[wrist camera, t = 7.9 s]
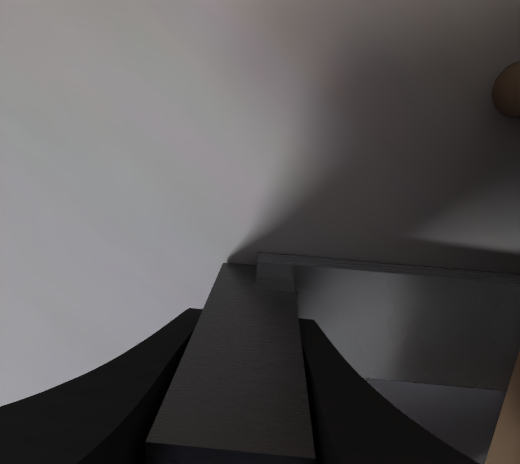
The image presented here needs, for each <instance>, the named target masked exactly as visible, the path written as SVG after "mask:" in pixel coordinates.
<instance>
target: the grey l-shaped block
mask: <svg viewBox="0 0 520 464" xmlns="http://www.w3.org/2000/svg"><path fill="white" fill-rule="evenodd" d="M298 318H302V319H313V320H315V322H316V323H317V324H318V325H319V327H320V328H321V329H322V331H323V332H324V333H325V335H326V336H327V337H328V339H329V340H330V341H331V343H332V344H333V345H334V346H335V348H336V349H337V350H338V351H339V353H340V354H341V355H342V356H343V357H344V358H345V360H346V361H347V362H348V363H349V364H350V365H351V366H352V367H353V368H354V369H355V371H356V372H357V373H358V374H359V375H360V376H361V377H362V378H370V379H381V380H392V381H402V382H413V383H424V384H435V385H445V386H456V387H467V388H477V389H488V390H499V391H507V389H508V386H509V383H510V379H511V376H512V373H513V370H514V366H515V363H516V360H517V356H518V353H519V350H520V275H515V274H503V273H492V272H480V271H468V270H456V269H445V268H433V267H421V266H410V265H398V264H386V263H375V262H363V261H351V260H340V259H328V258H316V257H304V256H293V255H281V254H269V253H259V254H258V260H257V266H255V265H243V264H232V263H223V265H222V267H221V269H220V271H219V274H218V276H217V278H216V281H215V283H214V285H213V288H212V290H211V292H210V294H209V297H208V299H207V301H206V304H205V306H204V308H203V311H202V313H201V315H200V317H199V320H198V322H197V324H196V327H195V329H194V331H193V334H192V336H191V338H190V340H189V343H188V345H187V347H186V350H185V352H184V354H183V356H182V359H181V361H180V363H179V366H178V368H177V370H176V373H175V375H174V377H173V379H172V382H171V384H170V386H169V389H168V391H167V393H166V396H165V398H164V400H163V402H162V405H161V407H160V409H159V412H158V414H157V416H156V419H155V421H154V423H153V425H152V428H151V430H150V432H149V435H148V437H147V439H146V441H145V464H315V459H316V458H315V450H314V442H313V434H312V426H311V417H310V409H309V401H308V393H307V385H306V377H305V369H304V360H303V352H302V344H301V336H300V328H299V320H298Z"/></svg>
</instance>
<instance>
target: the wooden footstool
mask: <svg viewBox="0 0 520 464" xmlns="http://www.w3.org/2000/svg"><path fill="white" fill-rule="evenodd" d="M493 100H494V104H495V106H496V107H497V109H498V110H499V111H500V112H501V113H503V114H505V115H507V116H512V117H520V62H517V63H514V64H512V65H510V66H508V67H507V68H506V69H505V70H503V71H502V73H501V74H500V75H499V76H498V78H497V80H496V82H495V84H494V88H493ZM485 464H520V350H519V353H518V356H517V360H516V363H515V366H514V370H513V373H512V376H511V379H510V383H509V386H508V389H507V393H506V396H505V399H504V402H503V406H502V409H501V412H500V416H499V419H498V422H497V425H496V429H495V432H494V435H493V439H492V442H491V445H490V448H489V452H488V455H487V458H486V462H485Z"/></svg>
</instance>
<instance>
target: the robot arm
mask: <svg viewBox="0 0 520 464" xmlns="http://www.w3.org/2000/svg"><path fill="white" fill-rule="evenodd" d="M202 311H203V309H193V308H189V309H187V310H186V311H184V312H183V313H182V314H180V315H179V316H178V317H176V318H175V319H174V320H172V321H171V322H170V323H168V324H167V325H165V326H164V327H163V328H161V329H160V330H159V331H157V332H156V333H154V334H153V335H152V336H150V337H149V338H147V339H146V340H144V341H142V342H141V343H139V344H138V345H136V346H135V347H133V348H131V349H130V350H128V351H127V352H125V353H124V354H122V355H120V356H118V357H117V358H115V359H113V360H111V361H110V362H108V363H106V364H104V365H102V366H100V367H98V368H96V369H94V370H92V371H90V372H88V373H86V374H84V375H82V376H79V377H77V378H75V379H72V380H70V381H68V382H65V383H63V384H61V385H58V386H56V387H53V388H51V389H49V390H46V391H44V392H41V393H39V394H36V395H33V396H30V397H28V398H25V399H22V400H19V401H16V402H13V403H10V404H7V405H4V406H1V407H0V464H145V441H146V439H147V437H148V435H149V432H150V430H151V428H152V425H153V423H154V421H155V419H156V416H157V414H158V412H159V409H160V407H161V405H162V402H163V400H164V398H165V396H166V393H167V391H168V389H169V386H170V384H171V382H172V379H173V377H174V375H175V373H176V370H177V368H178V366H179V363H180V361H181V359H182V356H183V354H184V352H185V350H186V347H187V345H188V343H189V340H190V338H191V336H192V334H193V331H194V329H195V327H196V324H197V322H198V320H199V317H200V315H201V313H202ZM298 320H299V328H300V336H301V344H302V352H303V360H304V369H305V377H306V385H307V393H308V401H309V409H310V417H311V426H312V434H313V442H314V450H315V458H316V459H315V464H479V463H477V462H476V461H474V460H472V459H471V458H469V457H468V456H466V455H464V454H463V453H461V452H459V451H458V450H456V449H454V448H453V447H451V446H450V445H448V444H446V443H445V442H443V441H442V440H440V439H439V438H437V437H436V436H434V435H433V434H431V433H430V432H428V431H427V430H425V429H424V428H423V427H421V426H420V425H419V424H417V423H416V422H414V421H413V420H412V419H410V418H409V417H408V416H406V415H405V414H404V413H402V412H401V411H400V410H398V409H397V408H396V407H395V406H393V405H392V404H391V403H390V402H389V401H388V400H386V399H385V398H384V397H383V396H382V395H381V394H379V393H378V392H377V391H376V390H375V389H374V388H373V387H372V386H371V385H369V384H368V383H367V382H366V381H365V380H364V379H363V378H362V377H361V376H360V375H359V374H358V373H357V372H356V371H355V369H354V368H353V367H352V366H351V365H350V364H349V363H348V362H347V361H346V360H345V358H344V357H343V356H342V355H341V354H340V353H339V351H338V350H337V349H336V348H335V346H334V345H333V344H332V343H331V341H330V340H329V339H328V337H327V336H326V335H325V333H324V332H323V331H322V329H321V328H320V327H319V325H318V324H317V323H316V322H315V320H313V319H302V318H298Z"/></svg>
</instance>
